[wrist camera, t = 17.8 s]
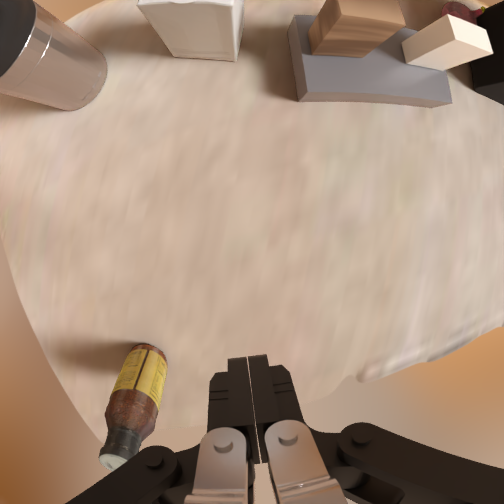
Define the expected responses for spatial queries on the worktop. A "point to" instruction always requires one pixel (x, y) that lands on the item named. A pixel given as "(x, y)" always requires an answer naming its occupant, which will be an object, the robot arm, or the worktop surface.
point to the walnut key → (354, 26)
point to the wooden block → (446, 44)
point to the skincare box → (197, 26)
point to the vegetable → (462, 12)
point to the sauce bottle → (133, 405)
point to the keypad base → (364, 73)
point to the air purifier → (495, 65)
